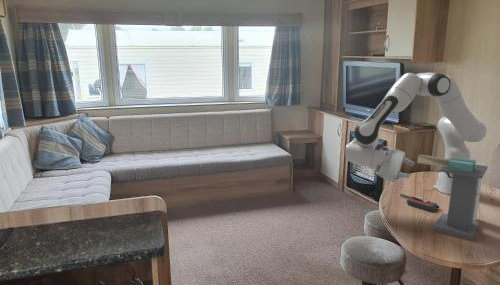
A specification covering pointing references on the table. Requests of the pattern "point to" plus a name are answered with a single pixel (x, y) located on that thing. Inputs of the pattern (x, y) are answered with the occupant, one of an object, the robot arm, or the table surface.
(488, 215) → the table surface
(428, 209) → the walkie-talkie
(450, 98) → the robot arm
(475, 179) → the stand
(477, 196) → the cylindrical container
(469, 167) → the tan and teal block
